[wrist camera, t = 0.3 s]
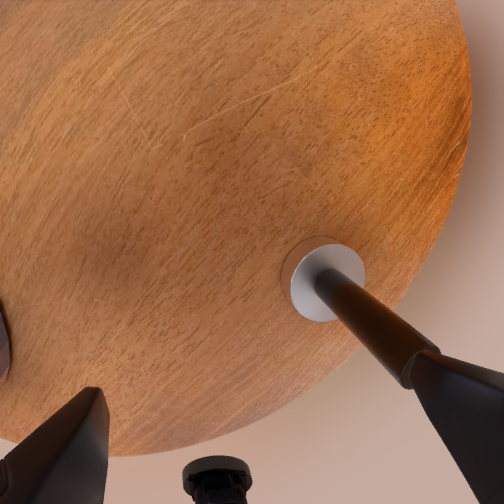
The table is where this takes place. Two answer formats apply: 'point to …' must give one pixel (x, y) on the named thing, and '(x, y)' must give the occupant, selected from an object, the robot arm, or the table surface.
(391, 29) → the table surface
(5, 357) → the bowl
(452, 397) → the robot arm
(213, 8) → the table surface
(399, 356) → the paper towel holder
